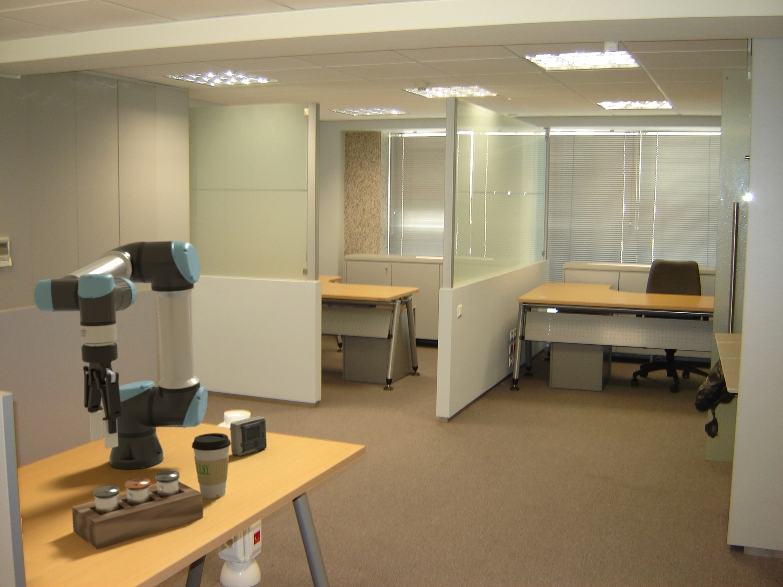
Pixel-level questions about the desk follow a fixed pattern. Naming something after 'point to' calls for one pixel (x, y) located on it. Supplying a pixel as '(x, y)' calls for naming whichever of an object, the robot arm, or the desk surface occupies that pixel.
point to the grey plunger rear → (167, 483)
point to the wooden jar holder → (136, 517)
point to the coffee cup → (212, 463)
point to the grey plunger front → (106, 499)
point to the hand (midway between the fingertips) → (104, 443)
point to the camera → (248, 435)
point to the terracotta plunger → (137, 491)
